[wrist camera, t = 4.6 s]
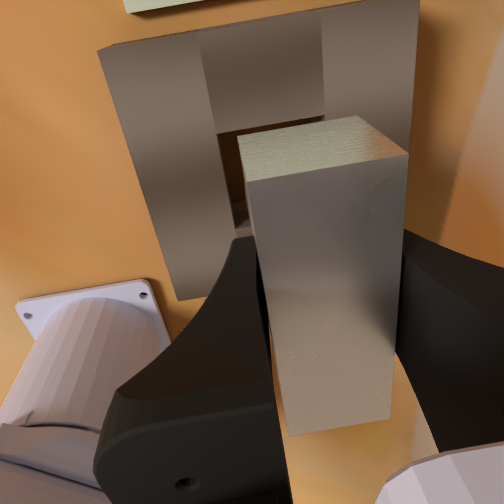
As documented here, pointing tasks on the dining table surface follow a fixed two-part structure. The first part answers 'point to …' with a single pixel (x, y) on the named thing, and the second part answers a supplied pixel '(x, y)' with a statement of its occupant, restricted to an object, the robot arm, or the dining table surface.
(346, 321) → the t-key
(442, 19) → the dining table surface
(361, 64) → the block
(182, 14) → the dining table surface
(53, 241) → the dining table surface
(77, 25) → the dining table surface
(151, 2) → the pad
